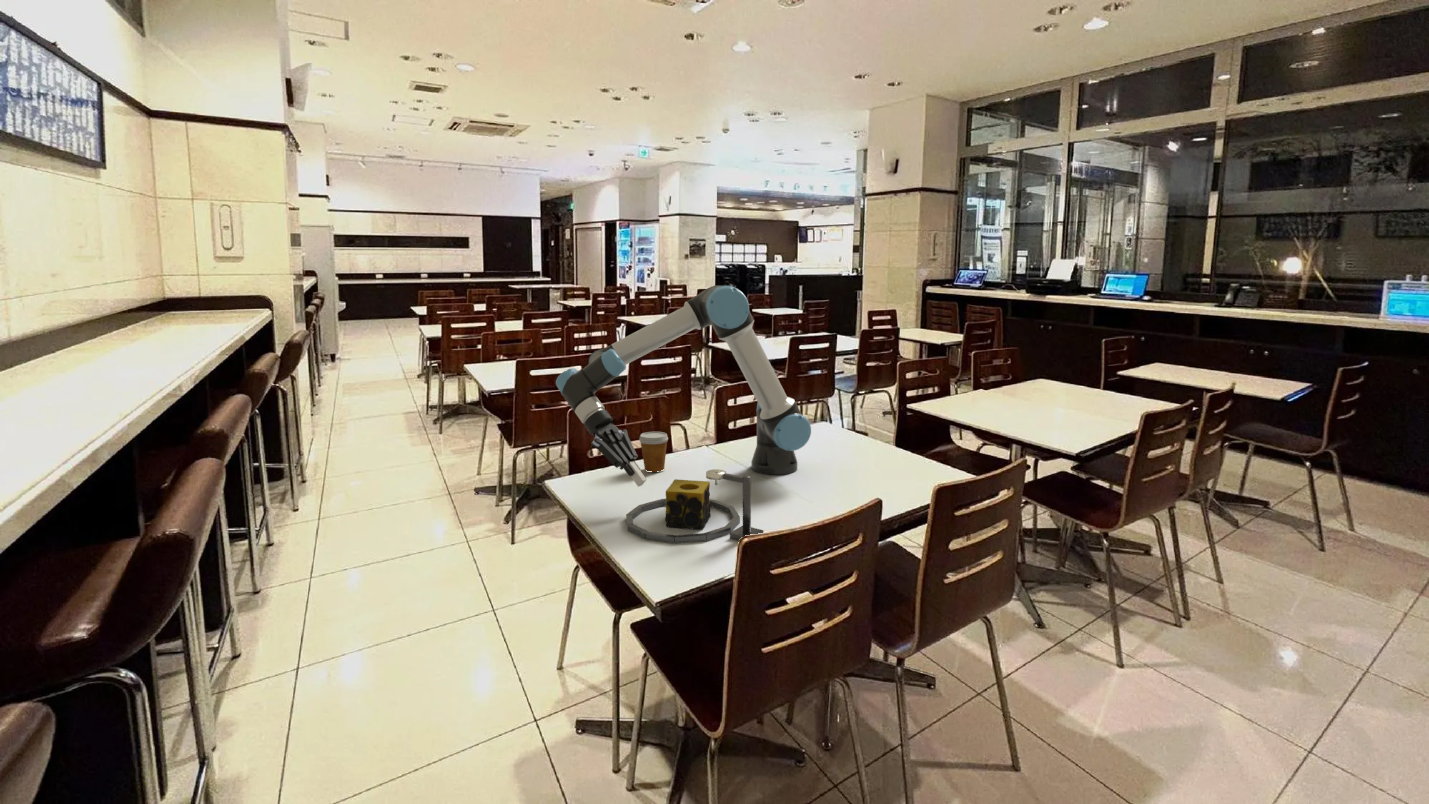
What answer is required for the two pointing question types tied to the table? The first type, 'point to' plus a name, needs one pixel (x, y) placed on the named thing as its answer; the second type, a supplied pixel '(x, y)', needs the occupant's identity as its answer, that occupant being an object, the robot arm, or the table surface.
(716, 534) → the ring
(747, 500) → the dial indicator stand
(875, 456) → the table surface
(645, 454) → the disposable coffee cup
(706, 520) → the yellow and black cube
